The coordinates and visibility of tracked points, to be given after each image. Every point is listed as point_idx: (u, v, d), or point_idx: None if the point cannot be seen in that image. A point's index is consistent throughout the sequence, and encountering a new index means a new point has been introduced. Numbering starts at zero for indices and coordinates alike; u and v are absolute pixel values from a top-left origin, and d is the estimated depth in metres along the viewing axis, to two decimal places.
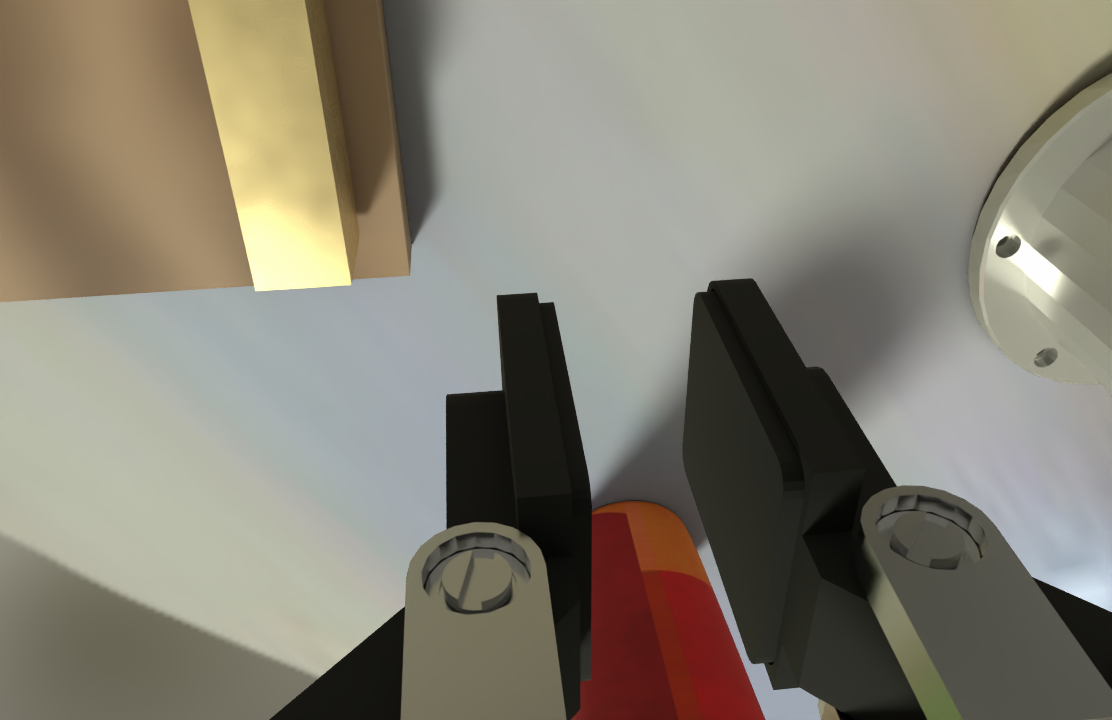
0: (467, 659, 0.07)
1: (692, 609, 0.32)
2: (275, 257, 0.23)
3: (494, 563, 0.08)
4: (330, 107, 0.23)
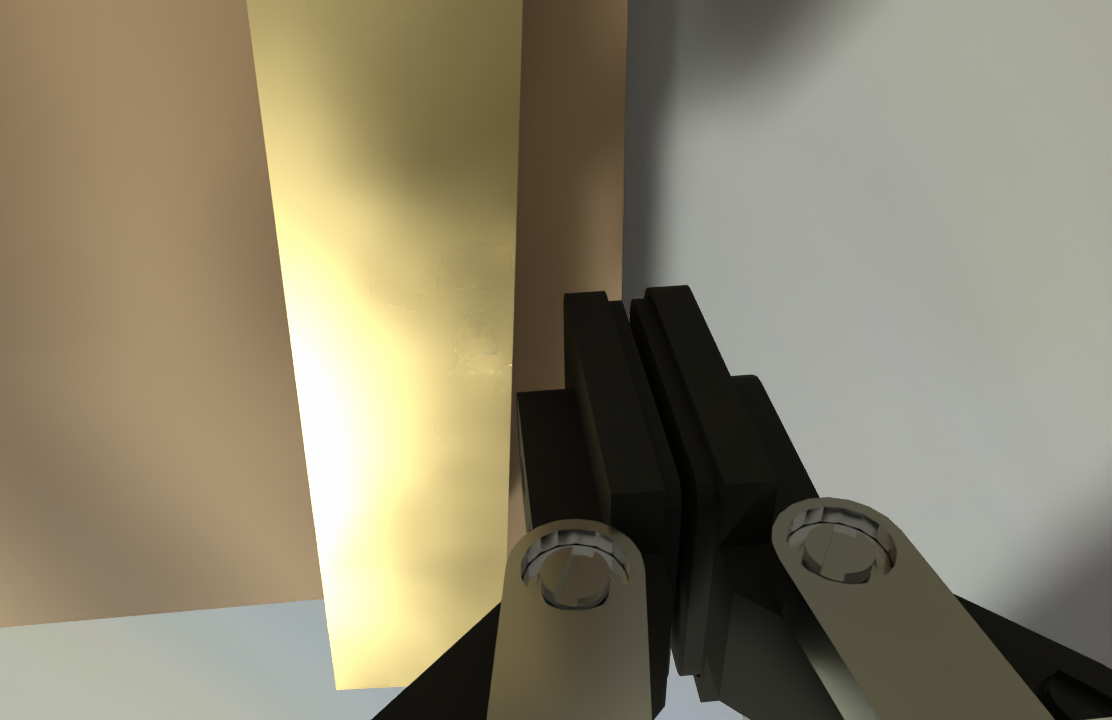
0: (558, 654, 0.07)
1: None
2: (378, 646, 0.13)
3: (593, 562, 0.08)
4: None
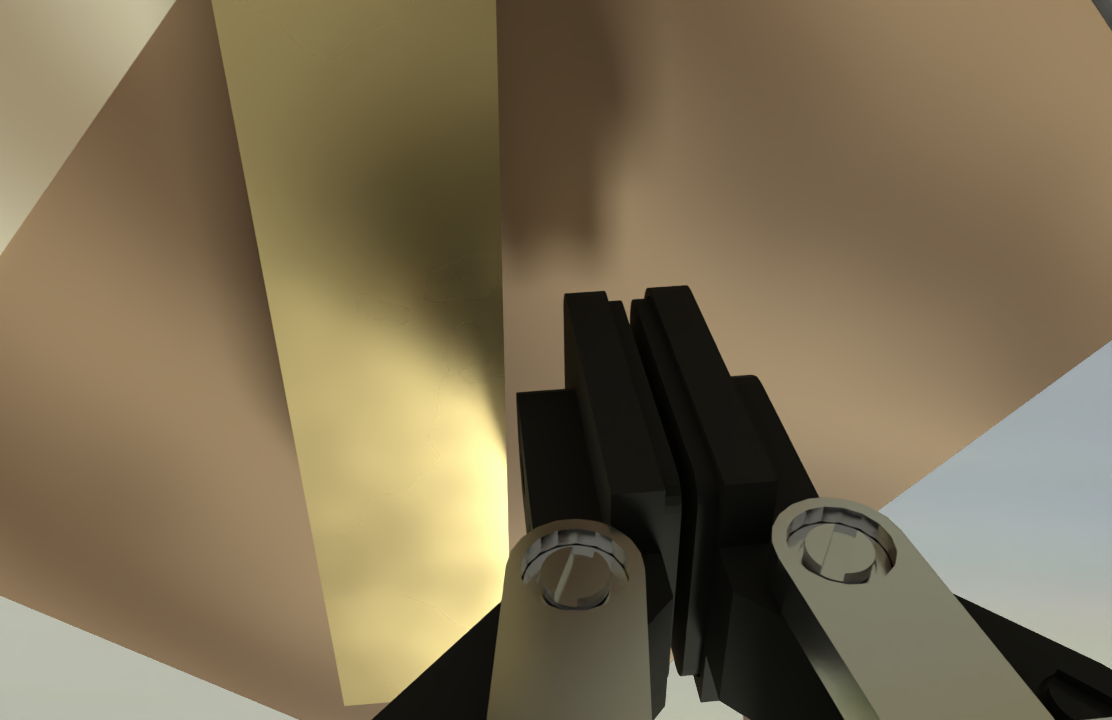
0: (558, 654, 0.07)
1: None
2: (385, 661, 0.13)
3: (593, 561, 0.08)
4: None
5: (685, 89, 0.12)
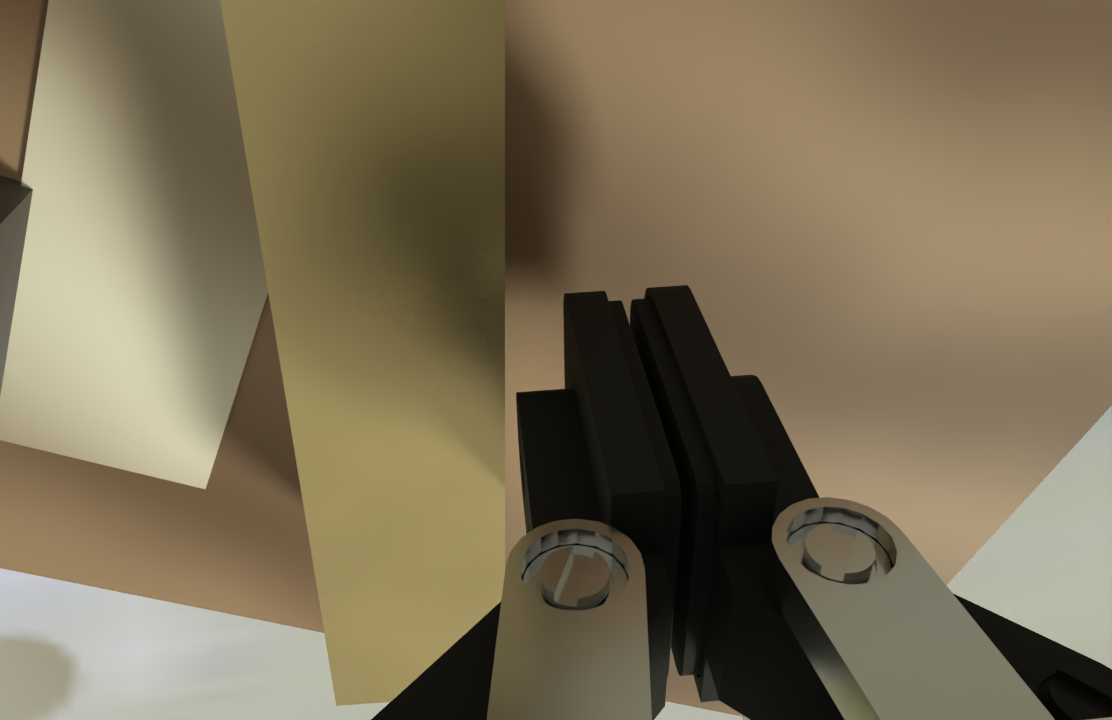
0: (558, 654, 0.07)
1: None
2: (378, 661, 0.13)
3: (593, 561, 0.08)
4: None
5: None
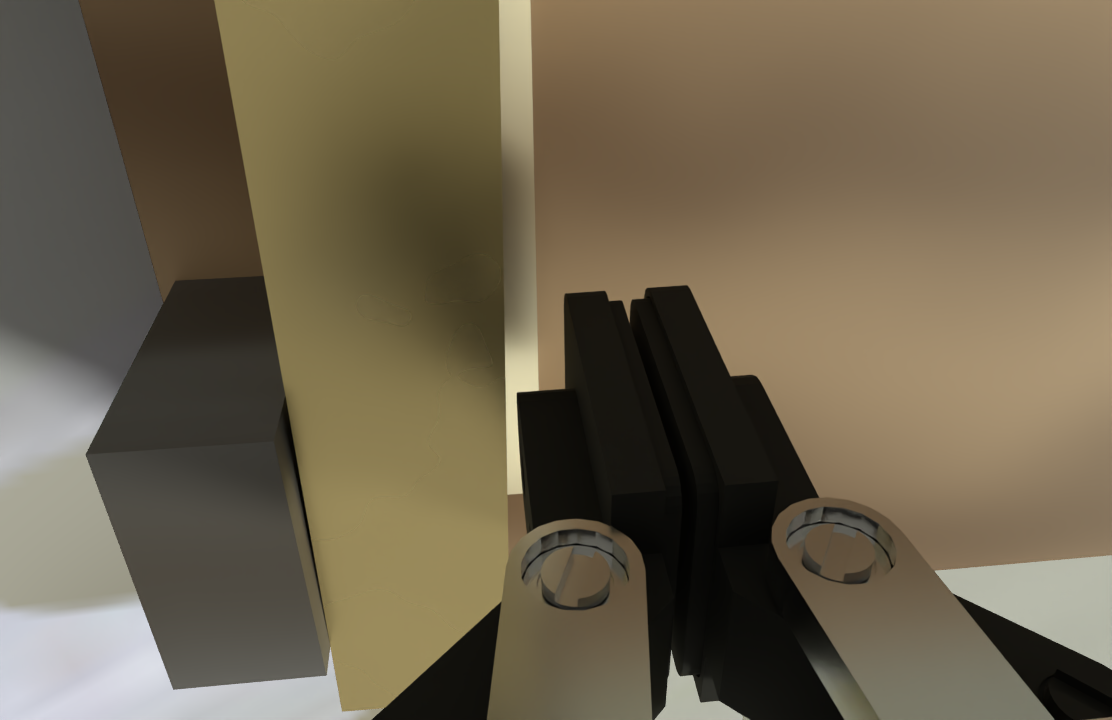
0: (559, 654, 0.07)
1: None
2: (383, 666, 0.13)
3: (594, 561, 0.08)
4: None
5: None
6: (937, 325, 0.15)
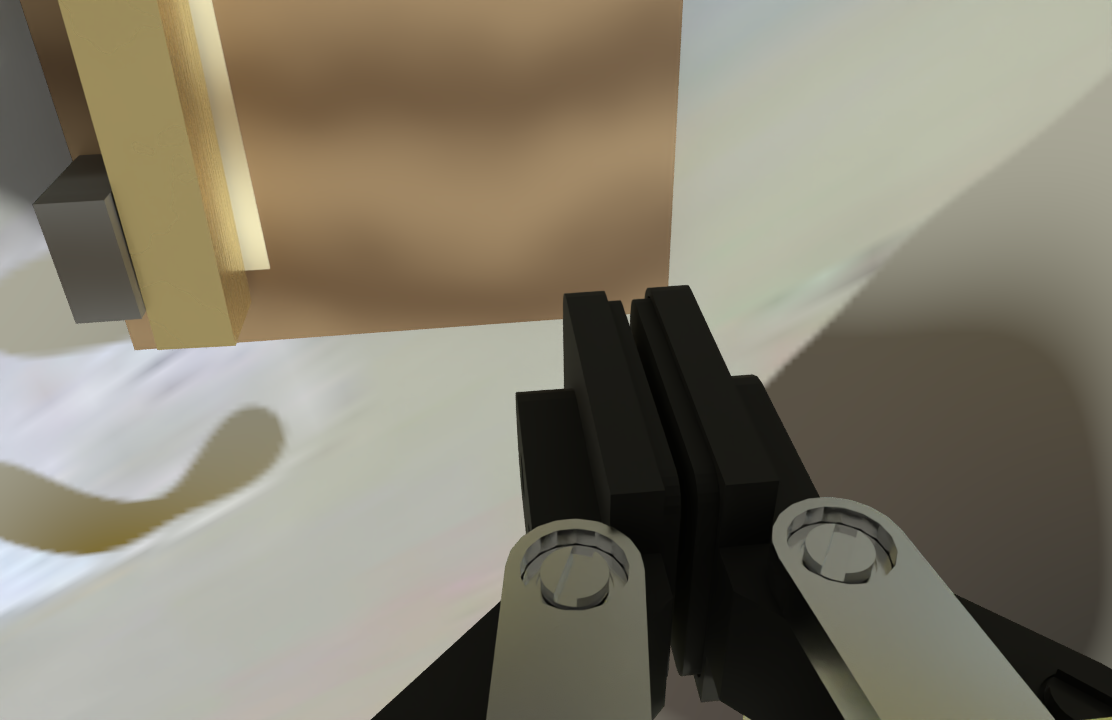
0: (558, 654, 0.07)
1: None
2: (172, 324, 0.29)
3: (593, 562, 0.08)
4: (216, 207, 0.29)
5: None
6: (450, 179, 0.31)
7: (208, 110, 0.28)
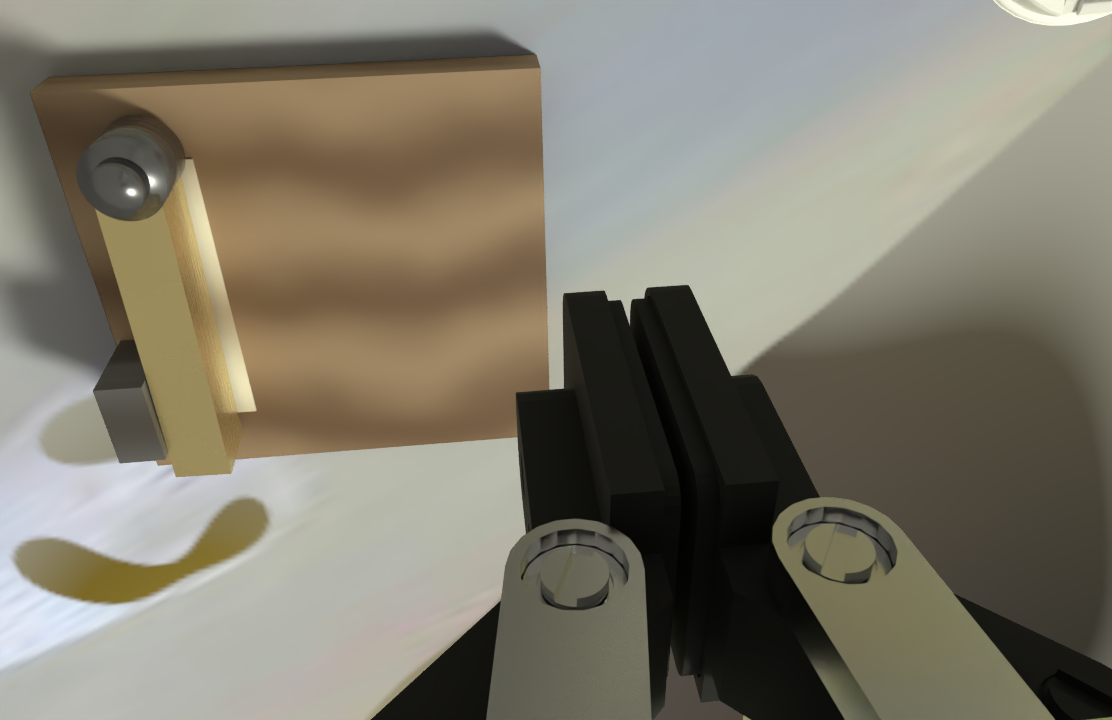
0: (558, 654, 0.07)
1: None
2: (186, 460, 0.42)
3: (593, 561, 0.08)
4: (217, 381, 0.41)
5: (336, 185, 0.39)
6: (385, 351, 0.44)
7: (212, 315, 0.41)
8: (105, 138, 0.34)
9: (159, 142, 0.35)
